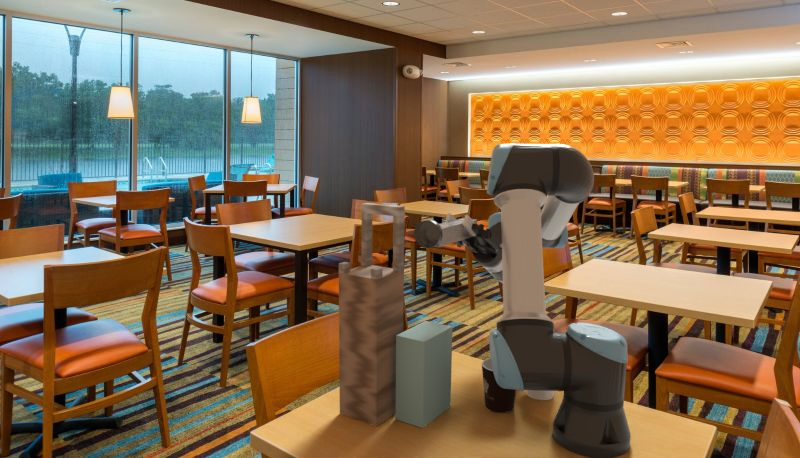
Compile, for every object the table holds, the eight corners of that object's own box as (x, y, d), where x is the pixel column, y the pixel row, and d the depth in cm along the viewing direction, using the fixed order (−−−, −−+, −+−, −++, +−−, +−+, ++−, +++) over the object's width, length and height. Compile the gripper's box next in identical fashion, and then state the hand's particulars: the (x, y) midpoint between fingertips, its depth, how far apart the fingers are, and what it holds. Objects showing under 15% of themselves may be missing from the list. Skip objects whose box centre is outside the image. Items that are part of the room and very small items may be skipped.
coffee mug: (518, 416, 130) (520, 373, 129) (479, 412, 132) (480, 370, 130) (518, 394, 141) (520, 354, 140) (482, 390, 143) (483, 351, 141)
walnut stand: (402, 408, 134) (404, 206, 126) (376, 426, 125) (377, 211, 118) (366, 397, 139) (367, 202, 132) (339, 413, 131) (338, 207, 123)
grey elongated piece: (480, 236, 145) (481, 211, 144) (437, 249, 127) (438, 221, 126) (458, 233, 148) (459, 209, 147) (413, 246, 130) (414, 219, 129)
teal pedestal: (450, 406, 135) (452, 326, 132) (422, 428, 125) (424, 342, 122) (424, 398, 139) (425, 320, 135) (395, 418, 129) (396, 335, 126)
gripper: (517, 271, 152) (485, 237, 134) (458, 263, 162) (420, 230, 143) (523, 244, 155) (493, 207, 136) (465, 238, 164) (429, 202, 145)
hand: (456, 219), depth 139 cm, fingers closed on grey elongated piece, 4 cm apart
